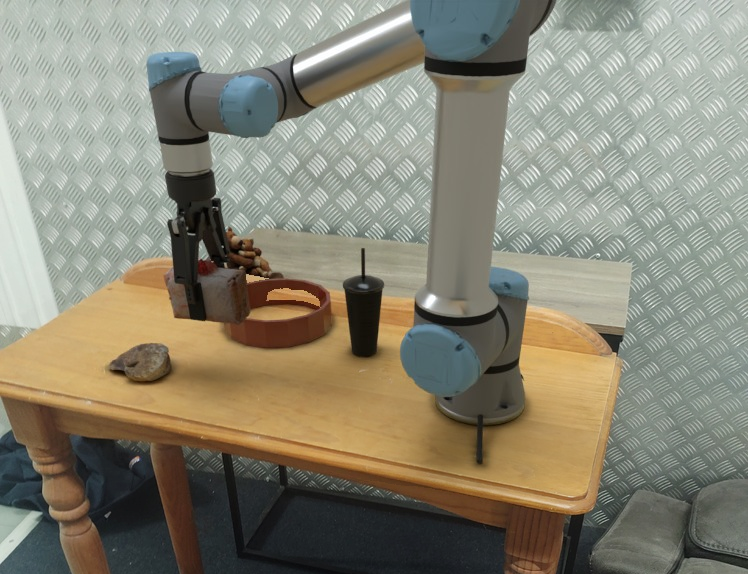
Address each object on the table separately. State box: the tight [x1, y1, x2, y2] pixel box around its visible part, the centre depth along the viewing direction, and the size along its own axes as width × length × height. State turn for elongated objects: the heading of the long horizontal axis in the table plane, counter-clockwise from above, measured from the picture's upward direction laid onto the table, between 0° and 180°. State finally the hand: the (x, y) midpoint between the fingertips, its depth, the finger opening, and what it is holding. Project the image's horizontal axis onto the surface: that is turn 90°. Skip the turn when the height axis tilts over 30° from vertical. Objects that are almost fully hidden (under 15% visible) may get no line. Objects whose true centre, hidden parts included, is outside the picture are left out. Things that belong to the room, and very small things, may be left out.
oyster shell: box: [108, 342, 172, 382], centre depth 132 cm, size 10×12×5 cm
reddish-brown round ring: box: [223, 277, 333, 349], centre depth 147 cm, size 22×22×6 cm
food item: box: [163, 255, 251, 325], centre depth 122 cm, size 14×8×10 cm, turn 75°
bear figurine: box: [225, 226, 285, 279], centre depth 164 cm, size 14×15×12 cm
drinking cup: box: [342, 247, 385, 358], centre depth 133 cm, size 8×8×20 cm
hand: (210, 309), depth 125 cm, fingers closed on food item, 8 cm apart
